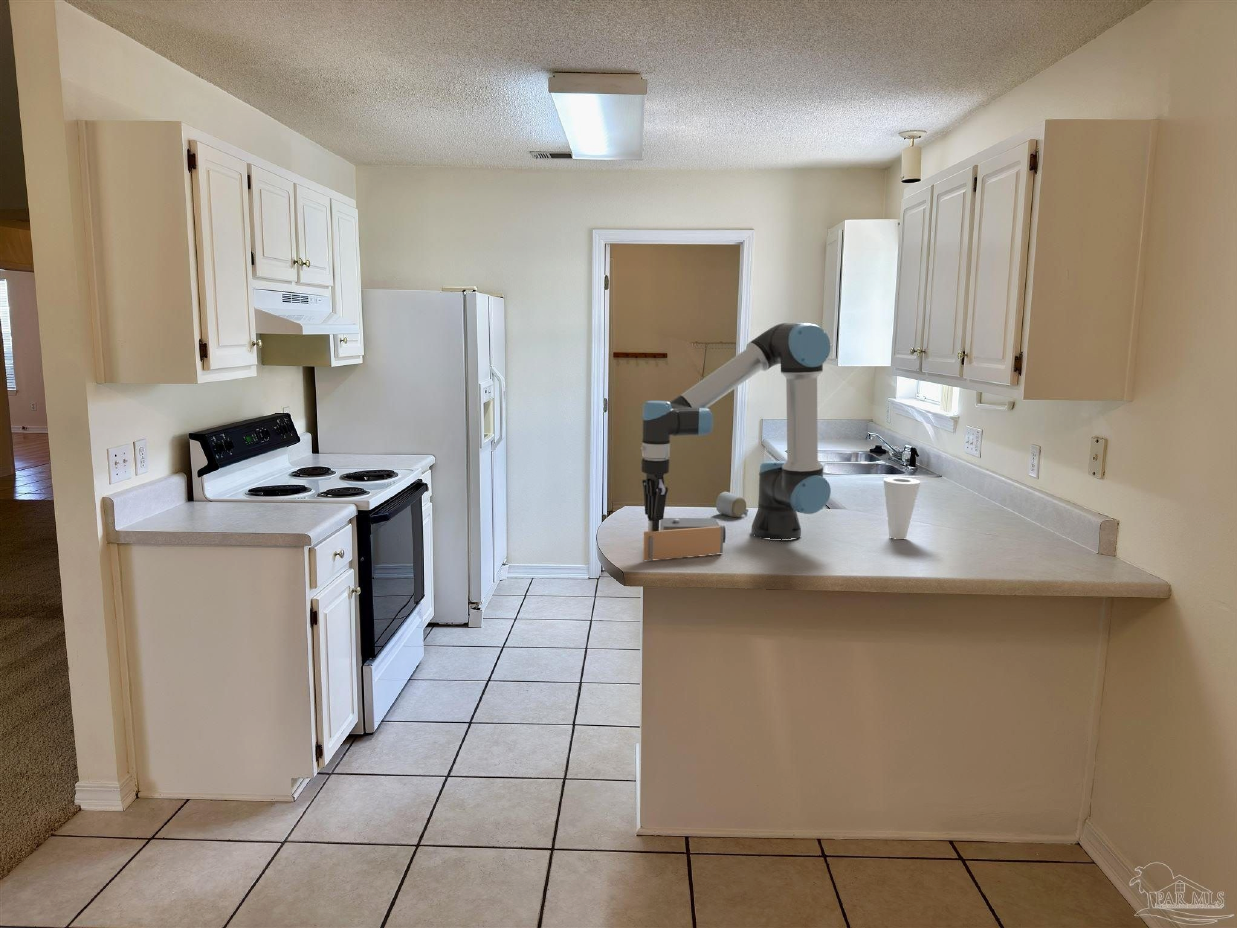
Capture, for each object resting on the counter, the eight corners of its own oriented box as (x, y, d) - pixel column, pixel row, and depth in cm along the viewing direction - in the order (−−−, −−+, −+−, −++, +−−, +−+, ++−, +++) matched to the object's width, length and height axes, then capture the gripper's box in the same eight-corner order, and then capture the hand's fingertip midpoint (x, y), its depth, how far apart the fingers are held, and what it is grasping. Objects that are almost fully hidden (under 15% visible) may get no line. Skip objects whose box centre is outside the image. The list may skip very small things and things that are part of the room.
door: (721, 553, 236) (722, 525, 234) (724, 555, 234) (725, 527, 232) (643, 560, 228) (643, 531, 227) (645, 562, 226) (646, 533, 225)
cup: (901, 532, 263) (905, 476, 260) (923, 541, 253) (928, 483, 250) (872, 534, 260) (876, 477, 257) (893, 543, 250) (897, 484, 247)
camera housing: (720, 544, 246) (721, 515, 244) (726, 554, 236) (727, 524, 234) (659, 544, 245) (660, 515, 243) (662, 554, 235) (663, 523, 234)
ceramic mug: (732, 519, 277) (733, 496, 275) (714, 514, 283) (715, 492, 282) (754, 515, 283) (755, 493, 282) (736, 511, 290) (737, 489, 288)
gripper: (634, 454, 231) (632, 537, 235) (651, 462, 219) (649, 549, 223) (659, 453, 233) (656, 535, 237) (677, 461, 221) (675, 547, 225)
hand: (653, 542), depth 230 cm, fingers closed
